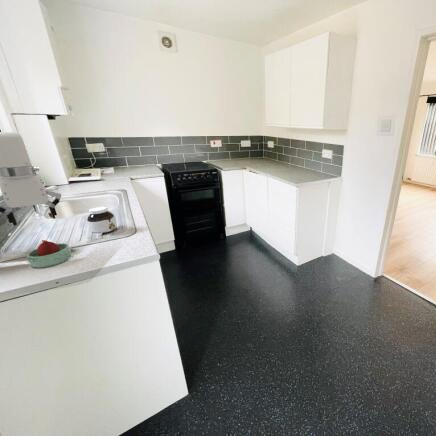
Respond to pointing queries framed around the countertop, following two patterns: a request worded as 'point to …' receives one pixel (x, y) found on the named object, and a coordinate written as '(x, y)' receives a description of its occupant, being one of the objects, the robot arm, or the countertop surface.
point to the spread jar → (101, 220)
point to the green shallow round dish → (49, 257)
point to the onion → (47, 248)
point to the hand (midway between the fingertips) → (35, 220)
